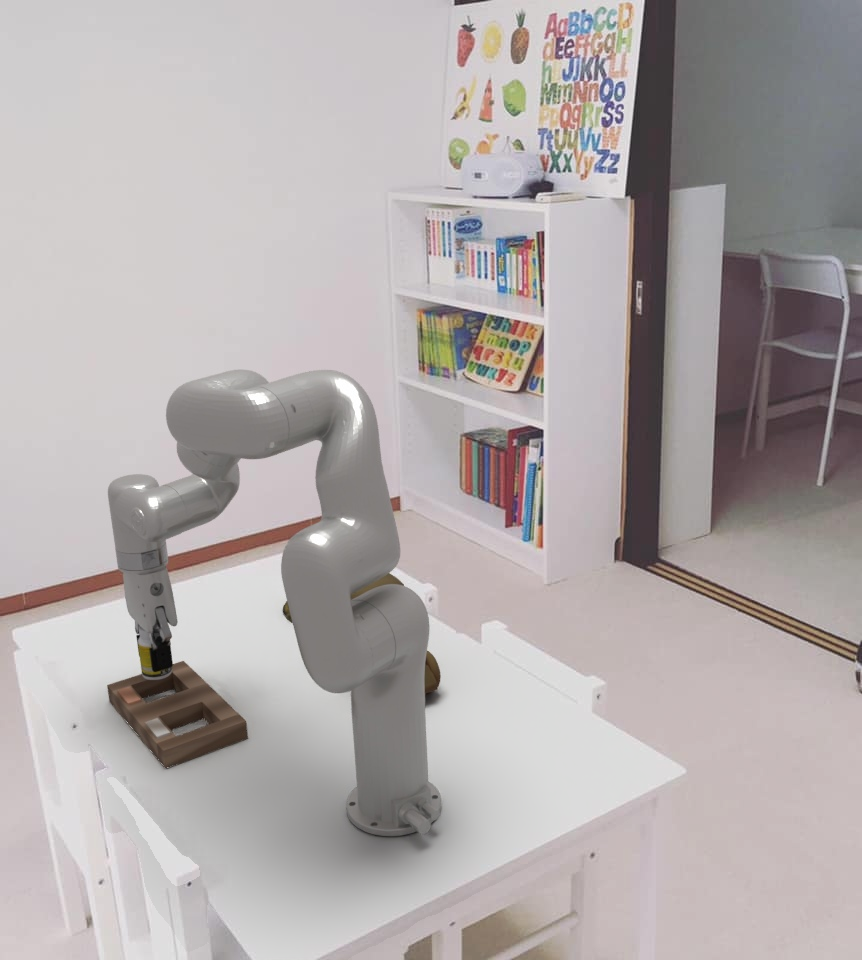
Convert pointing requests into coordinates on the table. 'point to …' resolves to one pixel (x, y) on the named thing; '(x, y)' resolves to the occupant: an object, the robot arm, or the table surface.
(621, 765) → the table surface
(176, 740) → the socket block
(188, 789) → the table surface
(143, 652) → the supplement bottle
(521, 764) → the table surface
